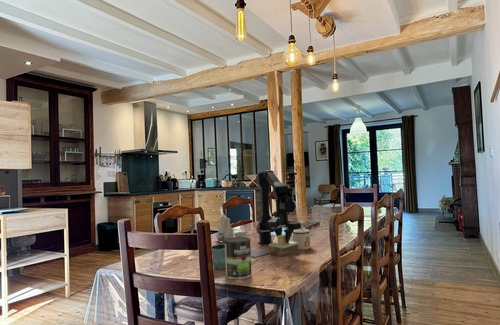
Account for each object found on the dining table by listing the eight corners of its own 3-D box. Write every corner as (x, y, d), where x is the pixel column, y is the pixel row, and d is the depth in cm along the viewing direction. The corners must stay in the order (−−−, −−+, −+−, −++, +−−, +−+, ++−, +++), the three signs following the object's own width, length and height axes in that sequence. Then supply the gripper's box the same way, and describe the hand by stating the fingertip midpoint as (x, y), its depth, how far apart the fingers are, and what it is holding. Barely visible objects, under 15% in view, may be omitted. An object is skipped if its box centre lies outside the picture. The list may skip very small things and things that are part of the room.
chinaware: (253, 244, 198) (254, 215, 199) (229, 245, 188) (230, 215, 190) (228, 238, 221) (229, 212, 222) (206, 239, 211) (207, 212, 213)
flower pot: (206, 268, 144) (205, 247, 144) (222, 263, 150) (221, 243, 151) (219, 271, 138) (218, 249, 138) (235, 266, 144) (234, 245, 144)
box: (269, 254, 163) (269, 246, 164) (284, 250, 171) (283, 242, 171) (283, 256, 157) (283, 248, 157) (298, 252, 165) (297, 244, 165)
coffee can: (256, 276, 129) (254, 239, 130) (232, 281, 124) (230, 243, 125) (244, 270, 138) (243, 235, 139) (221, 274, 133) (220, 239, 134)
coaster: (238, 254, 166) (238, 253, 166) (255, 250, 174) (255, 248, 174) (255, 258, 157) (255, 256, 157) (272, 253, 166) (272, 251, 166)
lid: (269, 247, 164) (268, 235, 164) (283, 243, 171) (283, 232, 171) (283, 249, 157) (282, 237, 157) (297, 245, 165) (297, 233, 165)
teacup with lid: (308, 250, 167) (306, 227, 168) (290, 249, 171) (289, 226, 171) (314, 245, 178) (313, 223, 178) (297, 244, 182) (296, 223, 182)
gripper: (257, 211, 166) (258, 243, 165) (286, 213, 153) (287, 248, 152) (272, 209, 174) (273, 239, 173) (300, 210, 160) (302, 243, 160)
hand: (283, 242), depth 164 cm, fingers open, 4 cm apart
